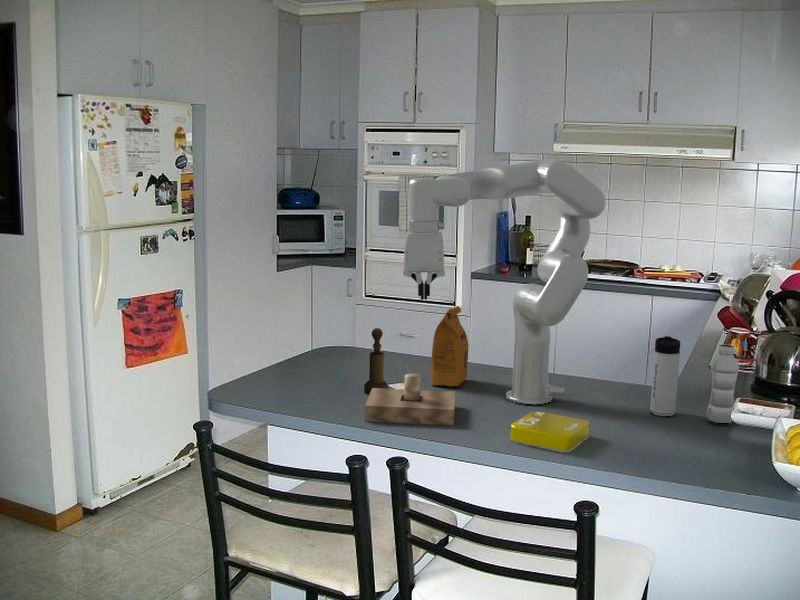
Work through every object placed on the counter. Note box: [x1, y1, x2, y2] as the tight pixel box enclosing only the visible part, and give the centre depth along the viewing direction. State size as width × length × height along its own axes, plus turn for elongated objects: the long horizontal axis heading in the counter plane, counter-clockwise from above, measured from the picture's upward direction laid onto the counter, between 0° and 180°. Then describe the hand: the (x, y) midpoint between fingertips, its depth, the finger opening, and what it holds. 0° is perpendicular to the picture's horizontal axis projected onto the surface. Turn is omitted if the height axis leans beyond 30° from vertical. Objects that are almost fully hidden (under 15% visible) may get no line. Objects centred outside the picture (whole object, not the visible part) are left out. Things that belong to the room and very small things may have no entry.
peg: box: [403, 373, 421, 402], centre depth 222 cm, size 4×4×10 cm
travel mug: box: [649, 335, 681, 414], centre depth 226 cm, size 6×7×20 cm
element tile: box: [509, 410, 590, 451], centre depth 205 cm, size 15×15×5 cm
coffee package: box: [430, 305, 469, 387], centre depth 250 cm, size 10×12×22 cm
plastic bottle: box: [706, 344, 740, 424], centre depth 219 cm, size 6×7×20 cm
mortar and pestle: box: [363, 327, 389, 395], centre depth 240 cm, size 7×6×18 cm
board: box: [364, 388, 456, 426], centre depth 222 cm, size 22×16×4 cm
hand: (424, 298), depth 223 cm, fingers closed
